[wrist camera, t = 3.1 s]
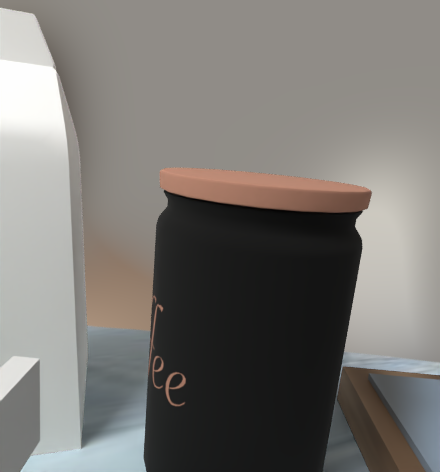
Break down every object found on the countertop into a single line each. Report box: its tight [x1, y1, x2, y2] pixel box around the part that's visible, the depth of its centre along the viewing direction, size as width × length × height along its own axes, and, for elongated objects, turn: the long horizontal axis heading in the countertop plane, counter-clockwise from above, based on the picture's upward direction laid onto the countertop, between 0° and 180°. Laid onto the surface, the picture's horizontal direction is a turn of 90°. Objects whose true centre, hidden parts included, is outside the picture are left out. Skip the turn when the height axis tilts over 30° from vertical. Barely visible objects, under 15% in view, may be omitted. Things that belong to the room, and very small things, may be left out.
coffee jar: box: [144, 168, 372, 472], centre depth 21 cm, size 11×11×18 cm
